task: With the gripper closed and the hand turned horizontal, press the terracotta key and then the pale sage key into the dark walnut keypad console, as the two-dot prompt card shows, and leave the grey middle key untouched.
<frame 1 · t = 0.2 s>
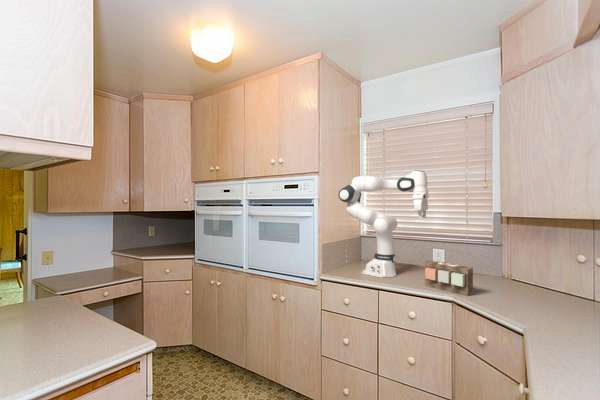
hand: (422, 218, 194), 39 cm above the worktop, tool pointing down, fingers open, 8 cm apart
key middle: (445, 276, 172), point 8 cm above the worktop, slide at 0.0 cm
key left: (432, 273, 178), point 8 cm above the worktop, slide at 0.0 cm
keypad console: (447, 289, 174), on the worktop
key right: (458, 279, 166), point 8 cm above the worktop, slide at 0.0 cm
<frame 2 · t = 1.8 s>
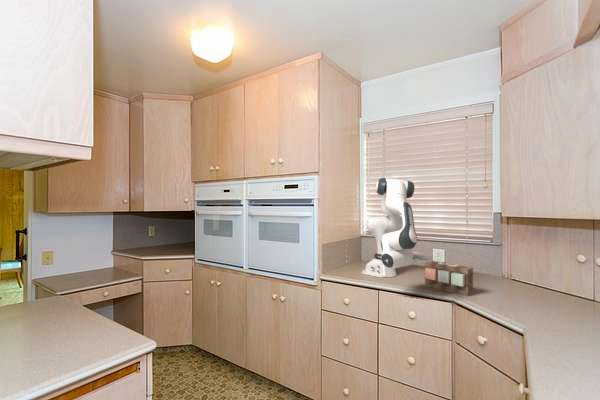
hand: (420, 254, 170), 20 cm above the worktop, tool horizontal, fingers open, 7 cm apart
nothing on the worktop moved.
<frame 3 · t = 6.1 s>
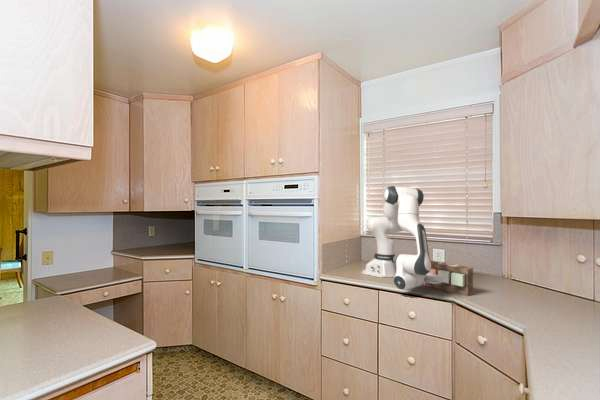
hand: (430, 274, 177), 8 cm above the worktop, tool horizontal, fingers closed, pressing on key left
key left: (432, 273, 178), point 8 cm above the worktop, slide at 0.3 cm, touching gripper
everything else where it was.
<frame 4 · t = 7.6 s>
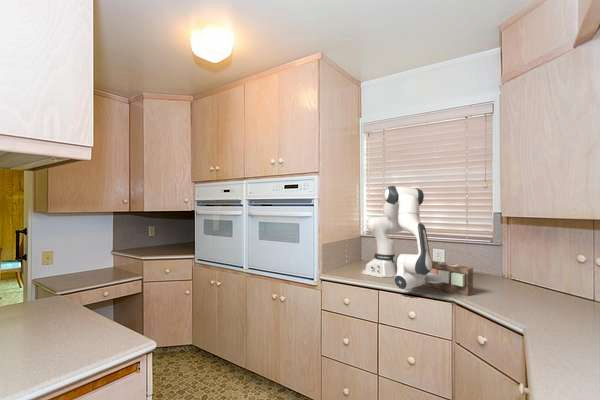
hand: (430, 273, 177), 8 cm above the worktop, tool horizontal, fingers closed
key left: (434, 273, 179), point 8 cm above the worktop, slide at 1.8 cm
everything else where it was.
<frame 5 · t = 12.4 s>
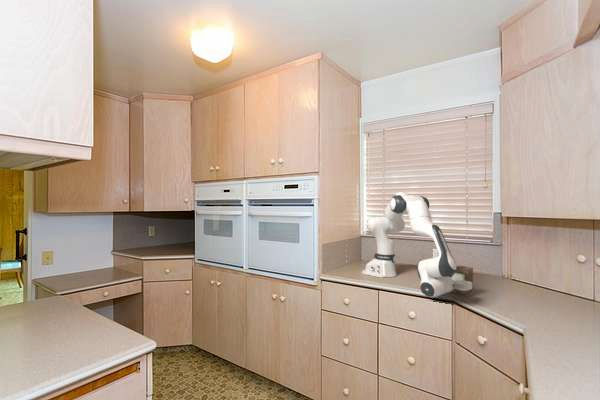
hand: (457, 279, 165), 8 cm above the worktop, tool horizontal, fingers closed, pressing on key right
key right: (459, 278, 166), point 8 cm above the worktop, slide at 0.7 cm, touching gripper
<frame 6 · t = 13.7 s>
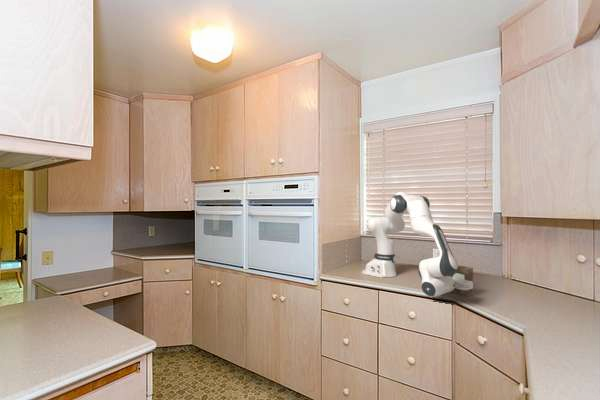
hand: (458, 279, 165), 8 cm above the worktop, tool horizontal, fingers closed
key right: (460, 278, 167), point 8 cm above the worktop, slide at 1.8 cm
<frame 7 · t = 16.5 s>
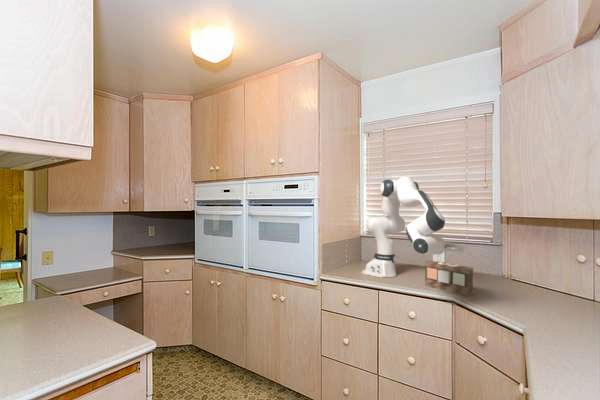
hand: (448, 245, 160), 27 cm above the worktop, tool horizontal, fingers closed
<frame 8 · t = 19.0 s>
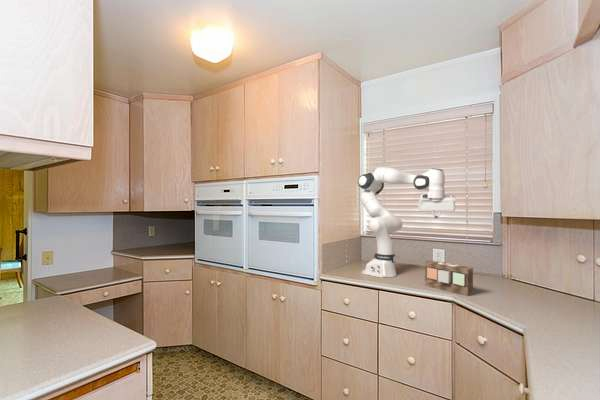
hand: (436, 218, 185), 39 cm above the worktop, tool pointing down, fingers closed
at the end: key left slide at 1.8 cm; key right slide at 1.8 cm; key middle slide at 0.0 cm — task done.
